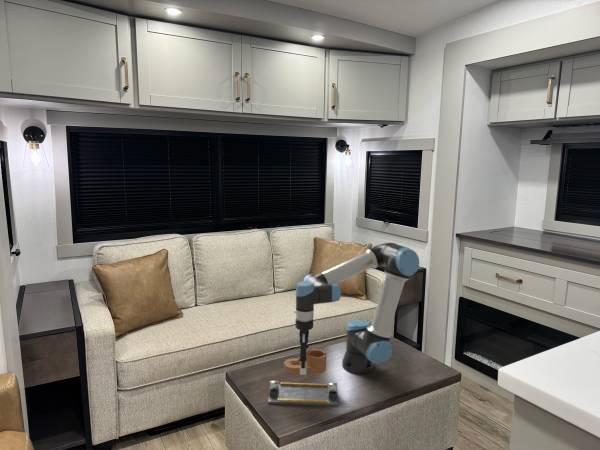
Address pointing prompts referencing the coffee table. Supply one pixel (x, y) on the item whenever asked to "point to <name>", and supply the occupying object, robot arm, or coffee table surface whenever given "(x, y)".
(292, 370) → the bracket
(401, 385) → the coffee table surface
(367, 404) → the coffee table surface
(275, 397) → the coupling bench
